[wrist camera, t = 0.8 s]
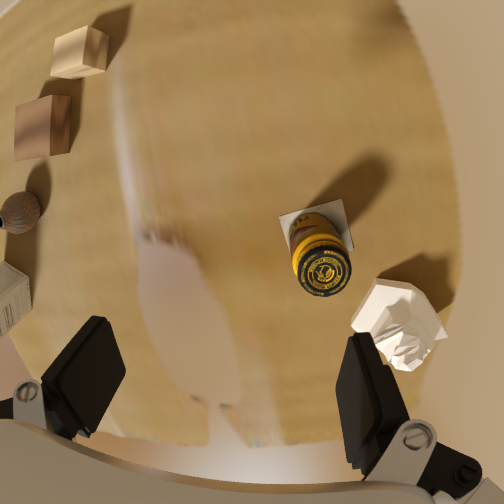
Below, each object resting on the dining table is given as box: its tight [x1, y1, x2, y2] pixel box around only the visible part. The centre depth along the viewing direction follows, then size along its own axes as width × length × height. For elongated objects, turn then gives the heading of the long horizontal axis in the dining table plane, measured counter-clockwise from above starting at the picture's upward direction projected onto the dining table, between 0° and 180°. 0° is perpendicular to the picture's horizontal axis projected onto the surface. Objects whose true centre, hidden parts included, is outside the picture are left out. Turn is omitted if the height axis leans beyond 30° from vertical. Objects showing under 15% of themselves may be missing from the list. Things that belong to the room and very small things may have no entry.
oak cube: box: [50, 26, 110, 80], centre depth 26 cm, size 6×6×6 cm
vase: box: [0, 191, 40, 234], centre depth 34 cm, size 7×7×9 cm
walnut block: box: [14, 94, 72, 161], centre depth 31 cm, size 9×9×5 cm
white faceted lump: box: [351, 278, 448, 371], centre depth 35 cm, size 12×15×14 cm
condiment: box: [279, 199, 353, 297], centre depth 31 cm, size 7×8×12 cm
